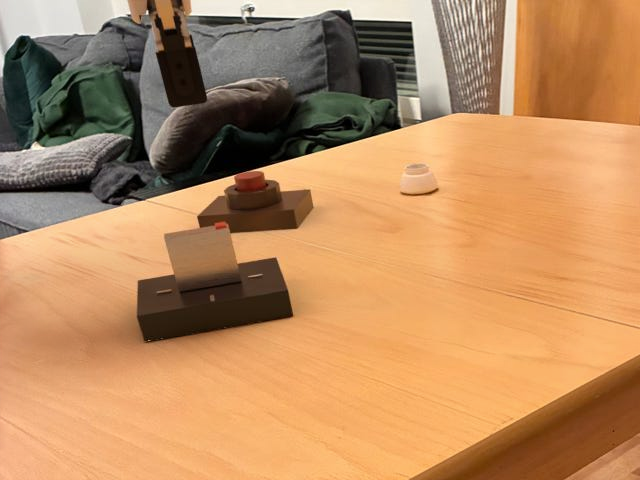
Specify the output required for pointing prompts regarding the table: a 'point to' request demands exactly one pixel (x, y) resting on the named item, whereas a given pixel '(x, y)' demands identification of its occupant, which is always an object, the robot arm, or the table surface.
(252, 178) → the button
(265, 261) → the lever switch base
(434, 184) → the white jar
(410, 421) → the table surface
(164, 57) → the robot arm
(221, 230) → the grey switch lever
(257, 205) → the button block
